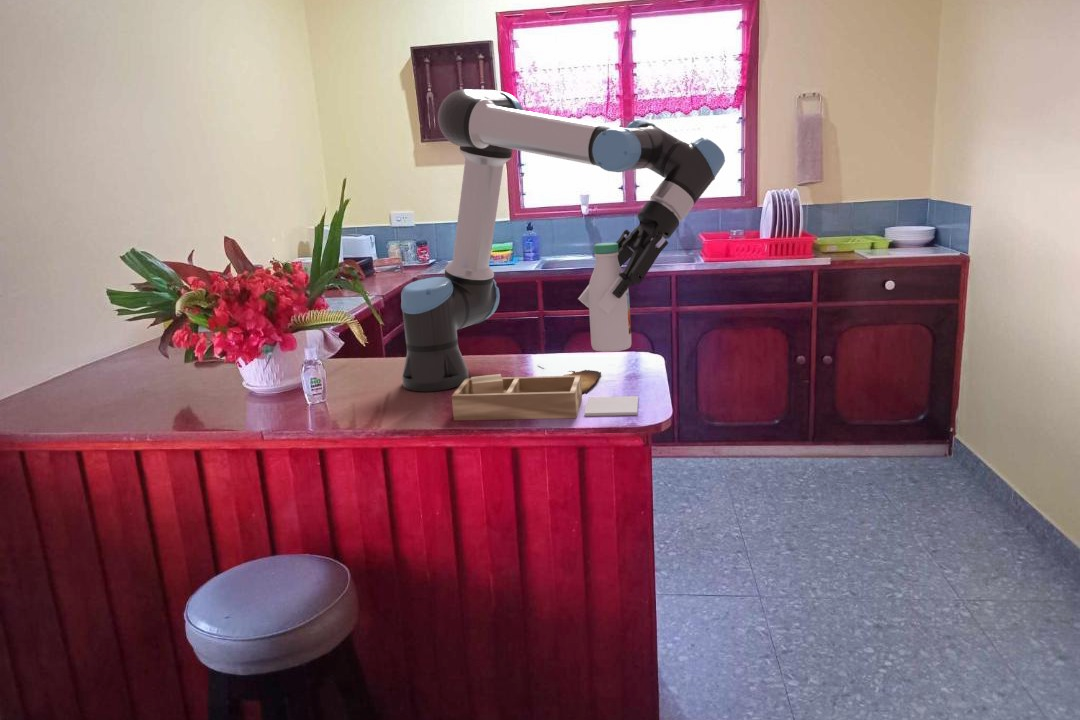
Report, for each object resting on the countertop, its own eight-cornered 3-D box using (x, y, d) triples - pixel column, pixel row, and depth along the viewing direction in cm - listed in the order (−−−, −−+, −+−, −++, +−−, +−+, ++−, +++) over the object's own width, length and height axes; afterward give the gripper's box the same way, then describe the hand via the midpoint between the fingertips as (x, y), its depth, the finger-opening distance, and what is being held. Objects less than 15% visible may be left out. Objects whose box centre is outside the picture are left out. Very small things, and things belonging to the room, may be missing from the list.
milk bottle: (626, 353, 147) (621, 245, 142) (586, 352, 149) (580, 247, 144) (635, 343, 154) (630, 240, 149) (597, 343, 156) (591, 242, 151)
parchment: (568, 371, 183) (568, 367, 183) (609, 371, 180) (609, 368, 179) (530, 406, 161) (529, 402, 161) (575, 407, 158) (575, 403, 157)
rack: (468, 401, 165) (465, 378, 164) (581, 398, 161) (580, 375, 160) (454, 420, 154) (451, 396, 152) (576, 418, 150) (574, 392, 149)
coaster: (588, 400, 160) (588, 397, 160) (638, 398, 159) (638, 396, 158) (584, 416, 151) (584, 413, 150) (637, 415, 149) (637, 412, 149)
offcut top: (472, 393, 160) (471, 377, 159) (501, 390, 160) (500, 374, 159) (473, 400, 155) (472, 383, 154) (504, 397, 155) (502, 380, 155)
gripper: (707, 226, 142) (631, 327, 140) (650, 221, 160) (583, 310, 159) (680, 199, 139) (603, 301, 137) (626, 197, 157) (557, 287, 156)
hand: (592, 306), depth 148 cm, fingers closed on milk bottle, 8 cm apart
